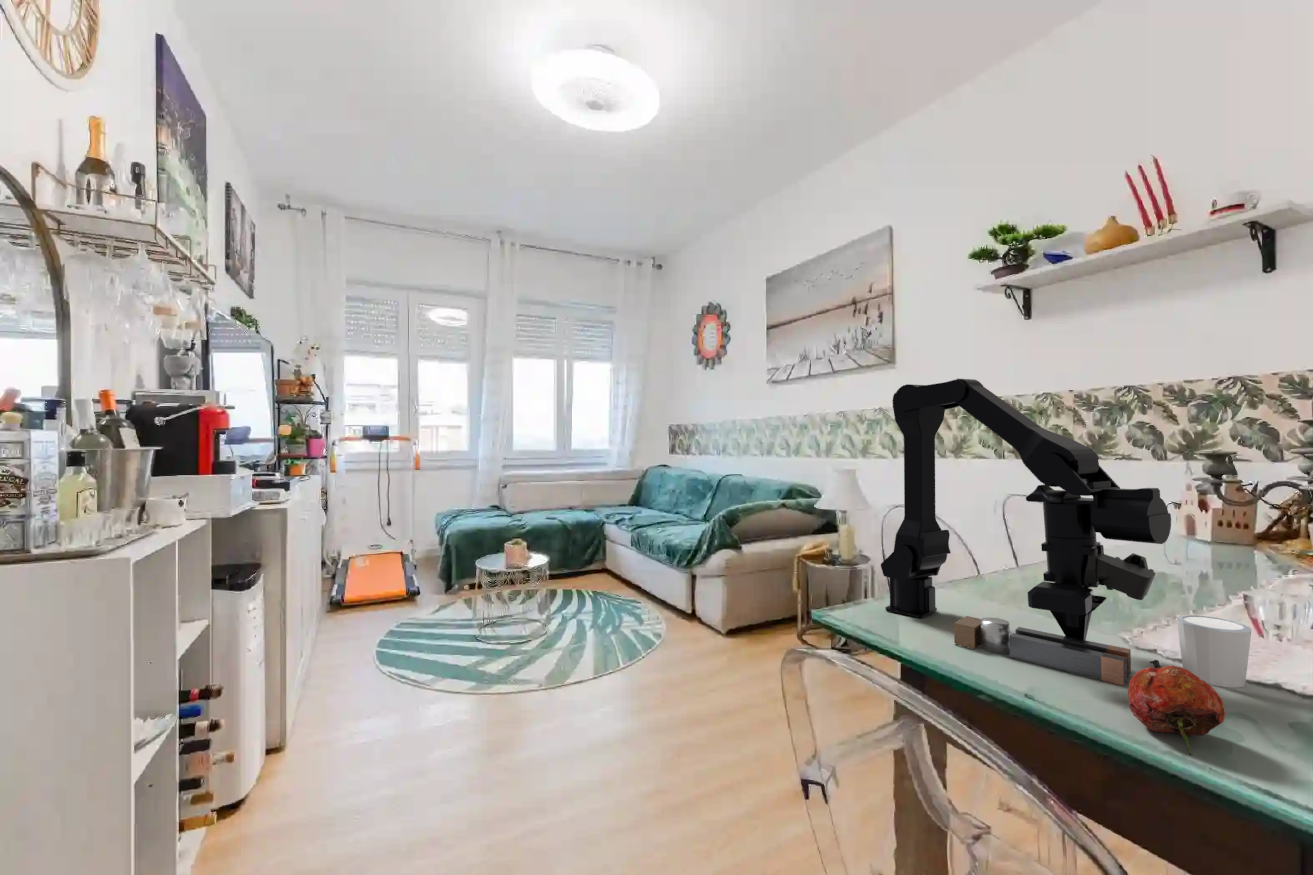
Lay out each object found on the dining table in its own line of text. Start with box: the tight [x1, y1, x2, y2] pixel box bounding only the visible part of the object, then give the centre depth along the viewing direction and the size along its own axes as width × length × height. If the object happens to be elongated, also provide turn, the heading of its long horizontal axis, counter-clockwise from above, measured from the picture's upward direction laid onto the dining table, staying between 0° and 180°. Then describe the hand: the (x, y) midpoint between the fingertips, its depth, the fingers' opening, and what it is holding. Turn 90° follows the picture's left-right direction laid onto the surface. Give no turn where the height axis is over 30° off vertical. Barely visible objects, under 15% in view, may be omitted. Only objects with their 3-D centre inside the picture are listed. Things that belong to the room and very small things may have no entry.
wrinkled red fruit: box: [1127, 659, 1226, 756], centre depth 59 cm, size 7×7×10 cm
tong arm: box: [1014, 626, 1132, 678], centre depth 78 cm, size 12×2×3 cm, turn 43°
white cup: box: [1176, 614, 1253, 689], centre depth 73 cm, size 7×7×7 cm
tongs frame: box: [953, 615, 1128, 687], centre depth 79 cm, size 20×5×4 cm, turn 41°
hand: (1078, 650), depth 79 cm, fingers closed
